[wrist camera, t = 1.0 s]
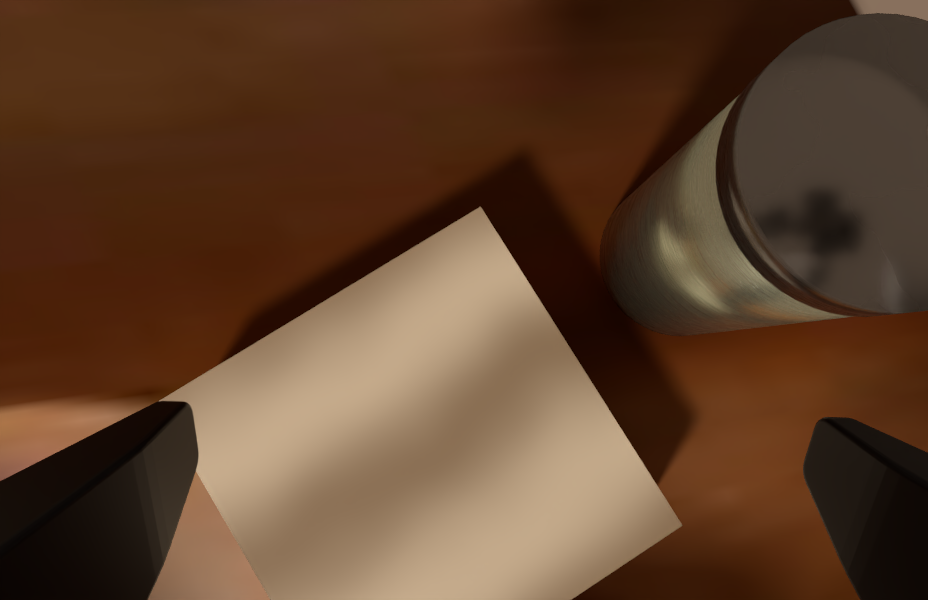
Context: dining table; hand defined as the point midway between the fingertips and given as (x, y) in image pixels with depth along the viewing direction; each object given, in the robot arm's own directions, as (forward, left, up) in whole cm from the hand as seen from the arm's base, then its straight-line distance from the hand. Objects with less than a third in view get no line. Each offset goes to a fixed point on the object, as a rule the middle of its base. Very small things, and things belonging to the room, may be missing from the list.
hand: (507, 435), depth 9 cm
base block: (-1, +3, -15) cm, 15 cm away
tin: (0, -9, -15) cm, 18 cm away
